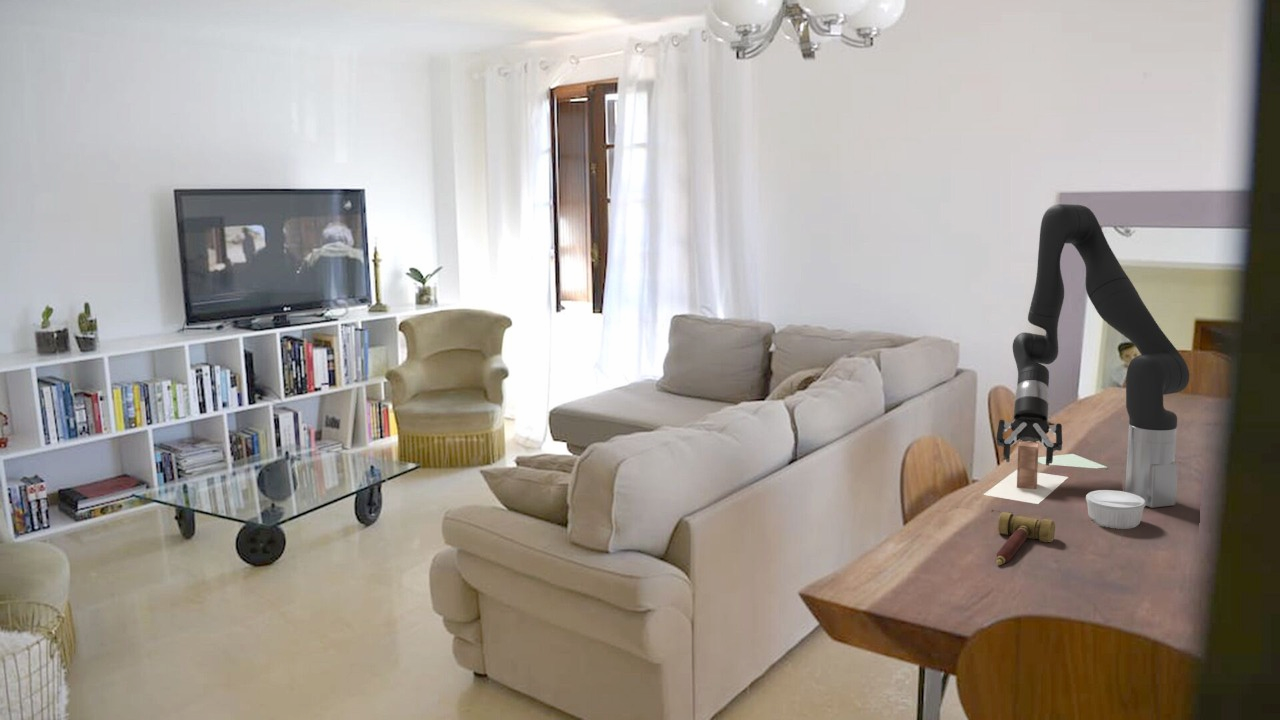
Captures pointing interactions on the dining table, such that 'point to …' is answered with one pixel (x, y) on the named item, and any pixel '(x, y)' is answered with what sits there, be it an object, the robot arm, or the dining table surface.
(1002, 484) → the hook board
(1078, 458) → the mat
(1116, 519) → the ramekin
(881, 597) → the dining table surface
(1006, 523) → the gavel
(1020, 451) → the tan recessed-panel box
